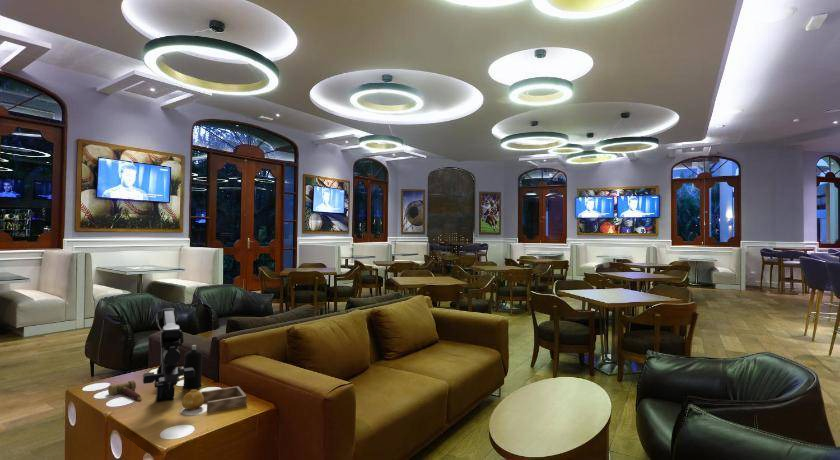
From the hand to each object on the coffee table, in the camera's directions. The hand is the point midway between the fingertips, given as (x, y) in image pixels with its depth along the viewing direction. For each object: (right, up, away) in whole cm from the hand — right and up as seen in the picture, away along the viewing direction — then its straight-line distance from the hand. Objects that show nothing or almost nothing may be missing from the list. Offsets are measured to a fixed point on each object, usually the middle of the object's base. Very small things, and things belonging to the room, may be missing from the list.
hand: (168, 395), depth 187 cm
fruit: (+8, -7, +5) cm, 12 cm away
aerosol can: (-6, -8, +32) cm, 33 cm away
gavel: (-27, -7, +17) cm, 33 cm away
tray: (+18, -8, +12) cm, 23 cm away
